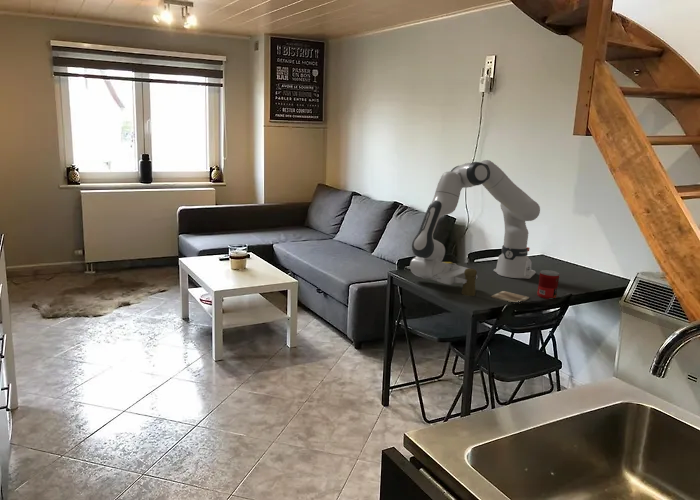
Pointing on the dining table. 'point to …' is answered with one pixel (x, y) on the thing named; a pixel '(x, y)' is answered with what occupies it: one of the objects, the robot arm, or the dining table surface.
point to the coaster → (509, 297)
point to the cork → (469, 282)
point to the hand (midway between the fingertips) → (471, 279)
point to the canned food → (548, 284)
